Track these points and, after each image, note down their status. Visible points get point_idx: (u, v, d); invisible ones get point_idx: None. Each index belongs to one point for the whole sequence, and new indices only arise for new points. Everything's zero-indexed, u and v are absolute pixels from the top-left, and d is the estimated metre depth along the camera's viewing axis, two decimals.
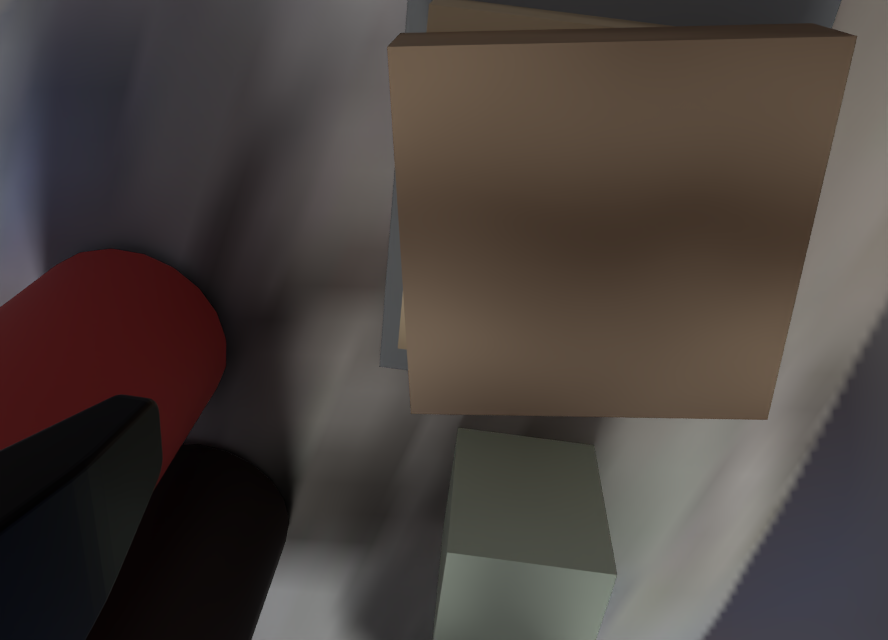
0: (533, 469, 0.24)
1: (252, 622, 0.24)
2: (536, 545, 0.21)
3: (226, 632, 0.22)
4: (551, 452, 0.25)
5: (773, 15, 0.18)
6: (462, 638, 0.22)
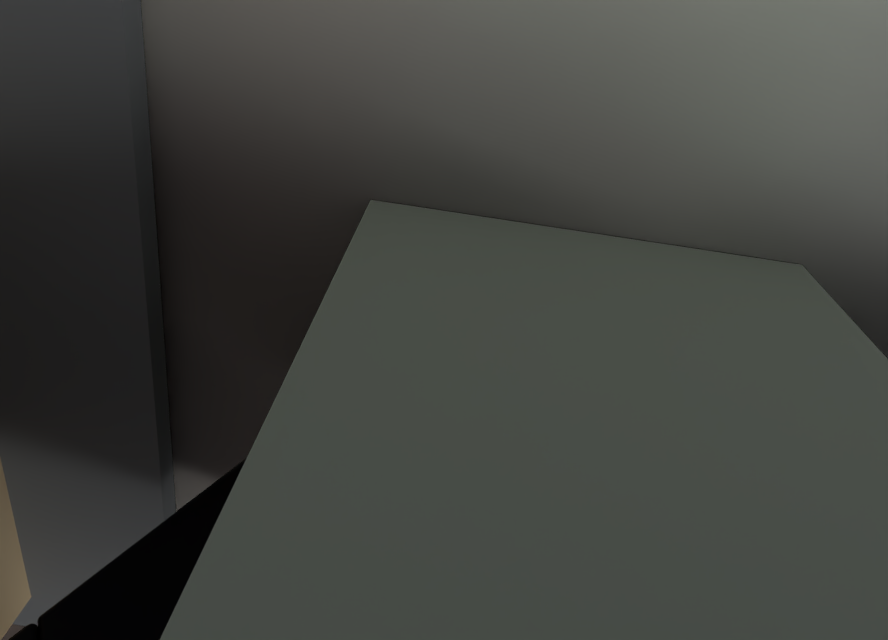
0: None
1: None
2: None
3: None
4: None
5: None
6: None
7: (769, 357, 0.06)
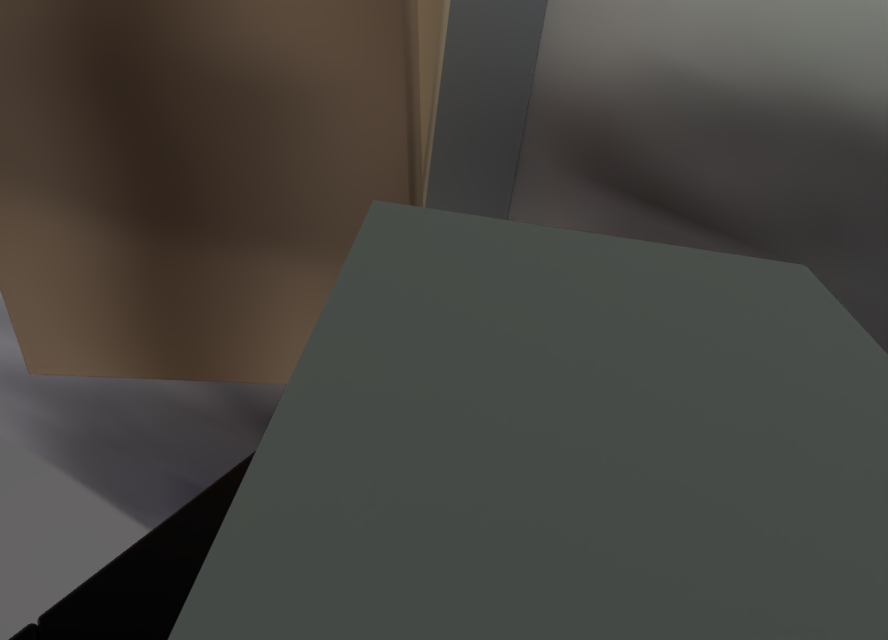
0: None
1: None
2: None
3: None
4: None
5: None
6: None
7: (773, 357, 0.06)
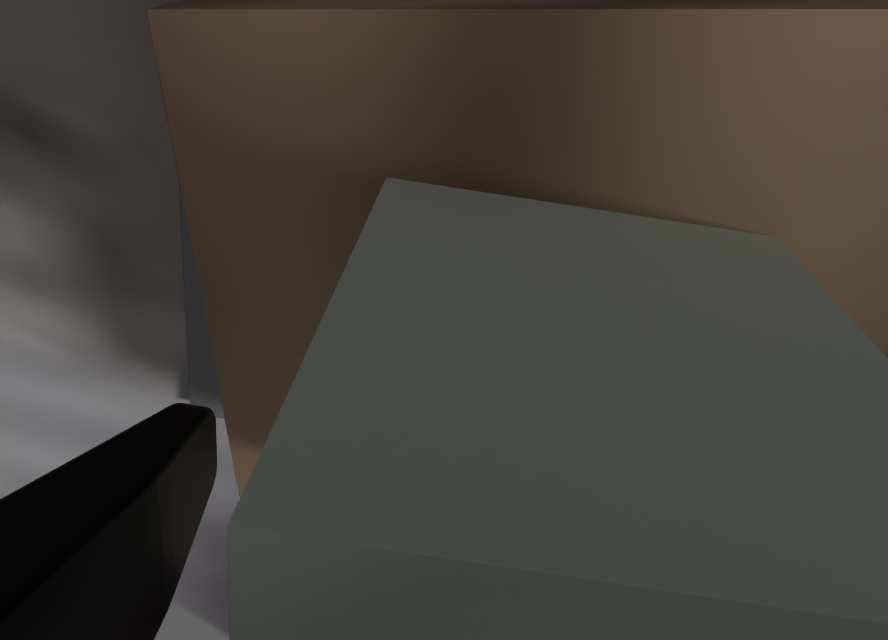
0: None
1: None
2: None
3: None
4: None
5: None
6: None
7: (740, 309, 0.07)
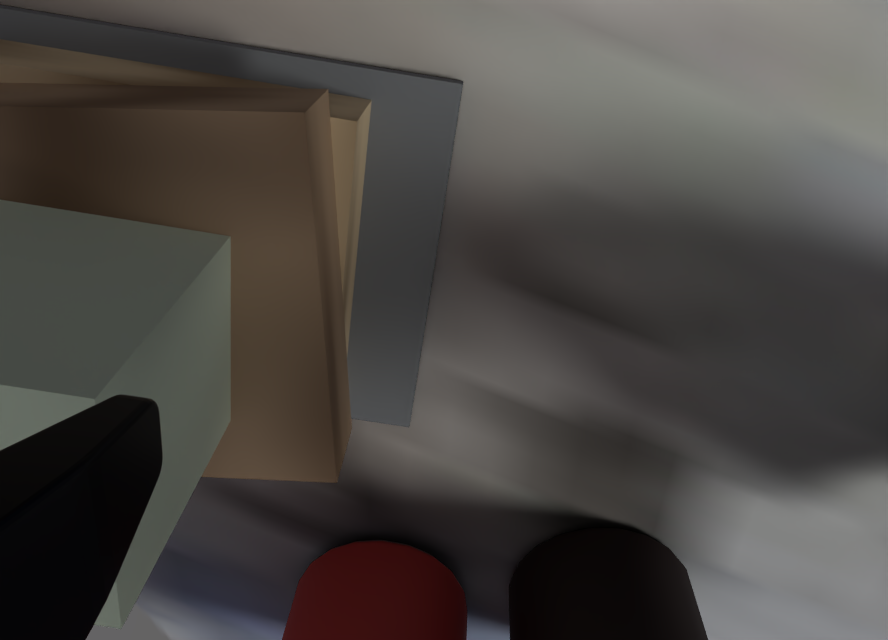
0: None
1: None
2: None
3: None
4: None
5: None
6: None
7: (126, 274, 0.13)
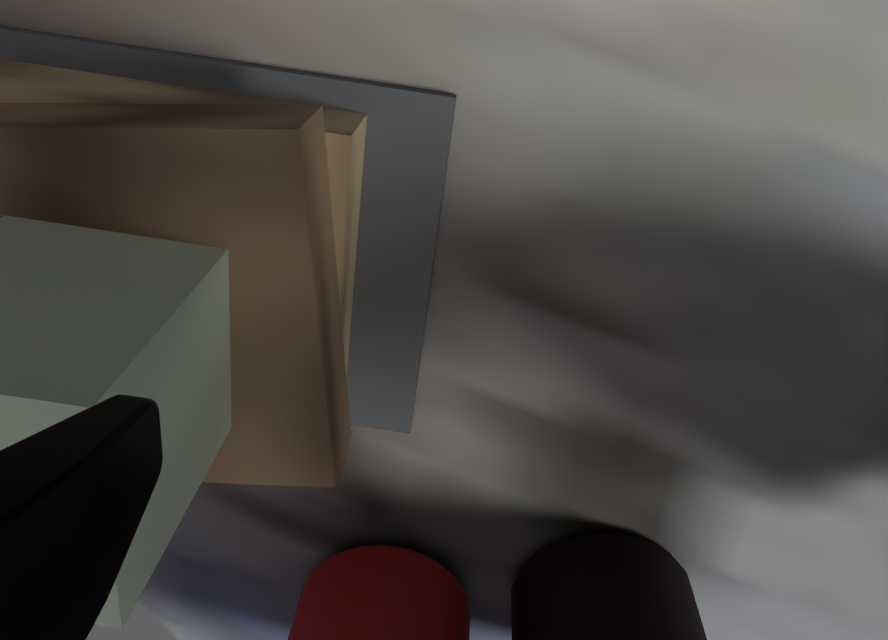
0: None
1: None
2: None
3: None
4: None
5: None
6: None
7: (126, 287, 0.14)
